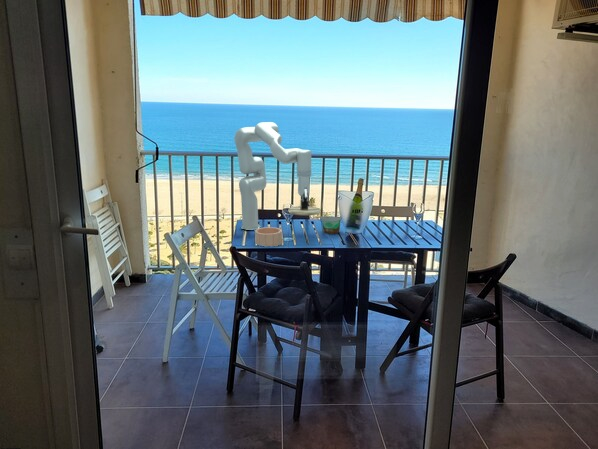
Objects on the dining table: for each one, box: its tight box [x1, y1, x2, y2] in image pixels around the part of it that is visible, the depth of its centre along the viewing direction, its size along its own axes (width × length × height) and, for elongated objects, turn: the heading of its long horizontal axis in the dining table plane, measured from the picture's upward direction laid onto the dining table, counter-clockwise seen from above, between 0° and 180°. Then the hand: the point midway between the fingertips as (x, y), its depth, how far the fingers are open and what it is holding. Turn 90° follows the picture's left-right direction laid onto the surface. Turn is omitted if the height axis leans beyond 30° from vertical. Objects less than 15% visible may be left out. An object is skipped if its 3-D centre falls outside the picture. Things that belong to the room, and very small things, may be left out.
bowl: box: [254, 226, 283, 247], centre depth 237 cm, size 14×14×7 cm
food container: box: [320, 215, 343, 235], centre depth 254 cm, size 12×6×10 cm, turn 82°
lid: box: [287, 199, 321, 216], centre depth 235 cm, size 17×17×6 cm
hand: (304, 207), depth 235 cm, fingers closed on lid, 4 cm apart
